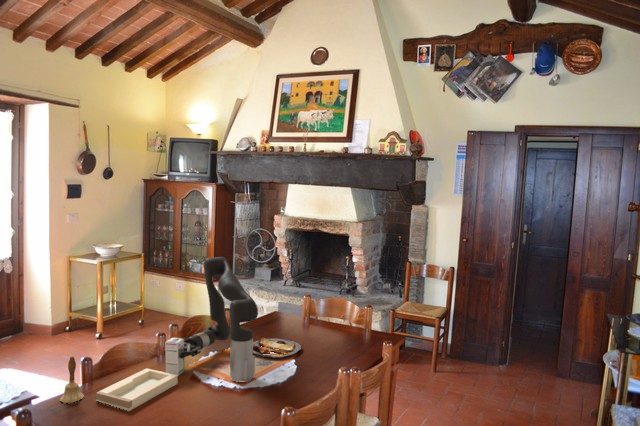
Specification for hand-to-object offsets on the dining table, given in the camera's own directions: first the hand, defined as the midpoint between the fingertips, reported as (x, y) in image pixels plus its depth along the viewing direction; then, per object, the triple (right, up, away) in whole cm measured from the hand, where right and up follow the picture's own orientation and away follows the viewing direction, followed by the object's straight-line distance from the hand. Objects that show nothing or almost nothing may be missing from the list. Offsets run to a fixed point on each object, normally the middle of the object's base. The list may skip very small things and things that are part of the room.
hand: (172, 354), depth 212 cm
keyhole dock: (-8, -10, -17) cm, 21 cm away
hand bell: (-31, -10, -24) cm, 40 cm away
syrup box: (0, -9, +2) cm, 9 cm away
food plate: (+40, -7, +31) cm, 51 cm away
